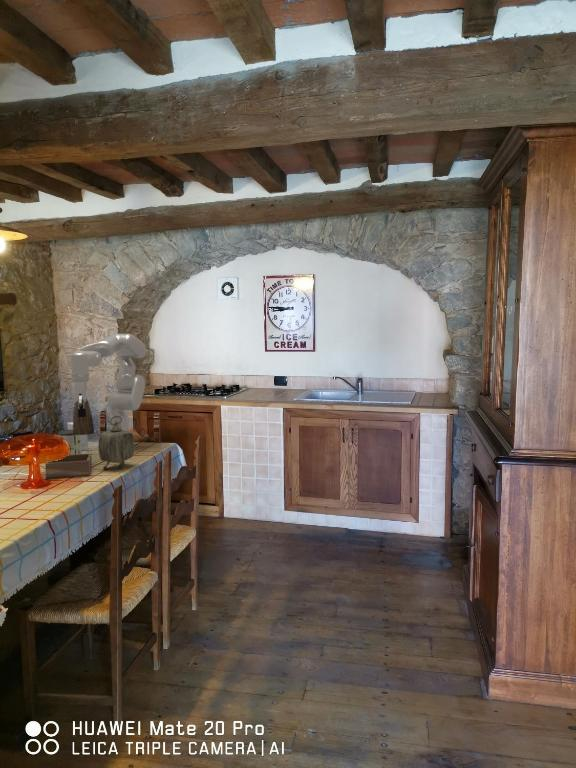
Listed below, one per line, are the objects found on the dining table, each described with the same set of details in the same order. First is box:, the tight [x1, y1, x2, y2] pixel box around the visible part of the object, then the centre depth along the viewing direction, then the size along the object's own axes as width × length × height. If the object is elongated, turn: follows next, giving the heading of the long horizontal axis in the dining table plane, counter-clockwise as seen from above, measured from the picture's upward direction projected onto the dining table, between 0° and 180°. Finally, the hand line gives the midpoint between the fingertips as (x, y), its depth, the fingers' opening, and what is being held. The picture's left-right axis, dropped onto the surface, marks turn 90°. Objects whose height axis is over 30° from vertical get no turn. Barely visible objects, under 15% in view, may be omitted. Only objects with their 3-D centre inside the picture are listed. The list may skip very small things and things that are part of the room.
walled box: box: [44, 453, 93, 480], centre depth 239 cm, size 14×18×7 cm
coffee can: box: [57, 429, 82, 455], centre depth 266 cm, size 10×10×14 cm
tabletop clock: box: [97, 416, 135, 470], centre depth 247 cm, size 14×9×25 cm, turn 149°
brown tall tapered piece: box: [72, 397, 95, 436], centre depth 251 cm, size 9×8×25 cm
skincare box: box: [66, 421, 89, 452], centre depth 283 cm, size 8×7×16 cm
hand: (82, 415), depth 251 cm, fingers closed on brown tall tapered piece, 5 cm apart
